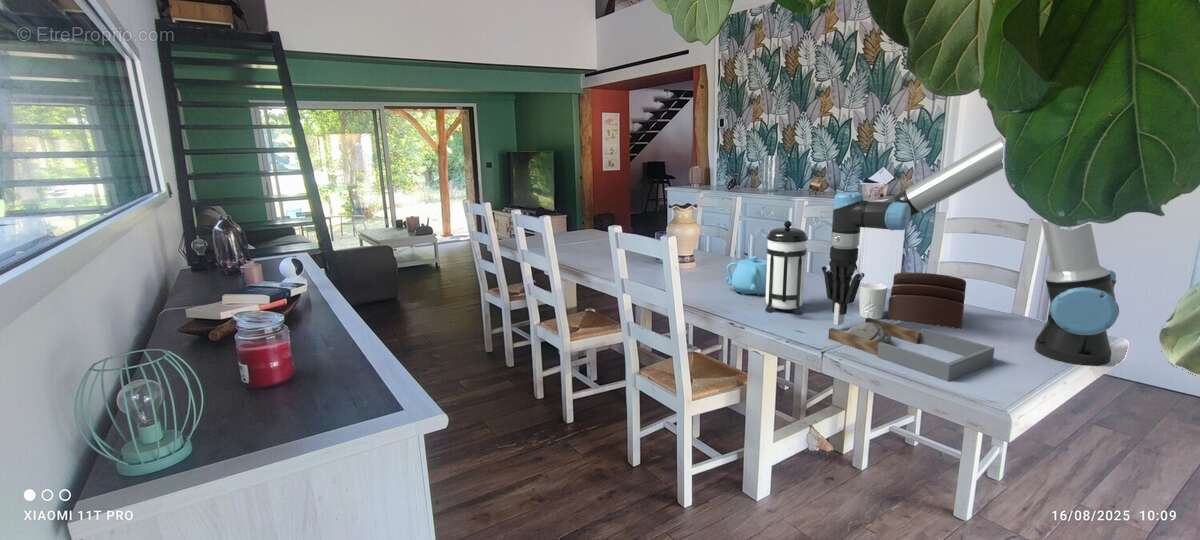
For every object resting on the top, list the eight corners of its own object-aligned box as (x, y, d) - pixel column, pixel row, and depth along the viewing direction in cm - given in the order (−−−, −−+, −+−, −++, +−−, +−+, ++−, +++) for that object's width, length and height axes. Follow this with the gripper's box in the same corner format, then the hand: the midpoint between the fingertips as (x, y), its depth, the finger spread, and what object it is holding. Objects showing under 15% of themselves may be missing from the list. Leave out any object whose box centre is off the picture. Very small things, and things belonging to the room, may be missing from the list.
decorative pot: (755, 284, 222) (756, 250, 219) (784, 293, 208) (785, 257, 205) (721, 290, 216) (722, 255, 213) (749, 299, 201) (750, 262, 198)
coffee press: (749, 306, 193) (751, 220, 187) (786, 300, 199) (790, 216, 192) (782, 320, 178) (787, 227, 171) (822, 313, 183) (828, 222, 177)
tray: (992, 362, 142) (994, 347, 141) (947, 381, 132) (949, 365, 131) (922, 341, 157) (923, 328, 156) (877, 357, 147) (878, 342, 146)
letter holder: (890, 311, 185) (894, 269, 181) (961, 320, 174) (967, 276, 171) (886, 319, 177) (890, 276, 173) (961, 329, 166) (967, 283, 163)
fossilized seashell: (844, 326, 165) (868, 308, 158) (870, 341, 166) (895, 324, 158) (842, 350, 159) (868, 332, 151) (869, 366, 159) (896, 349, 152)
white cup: (878, 312, 183) (881, 282, 181) (888, 320, 175) (891, 289, 173) (853, 312, 184) (856, 283, 182) (862, 320, 176) (864, 289, 174)
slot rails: (920, 342, 156) (921, 332, 156) (879, 356, 148) (880, 345, 147) (867, 327, 170) (868, 317, 169) (828, 338, 161) (828, 328, 160)
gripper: (817, 244, 166) (812, 320, 172) (856, 251, 155) (849, 332, 161) (833, 241, 170) (828, 315, 175) (873, 248, 159) (866, 327, 164)
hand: (838, 323), depth 168 cm, fingers closed
